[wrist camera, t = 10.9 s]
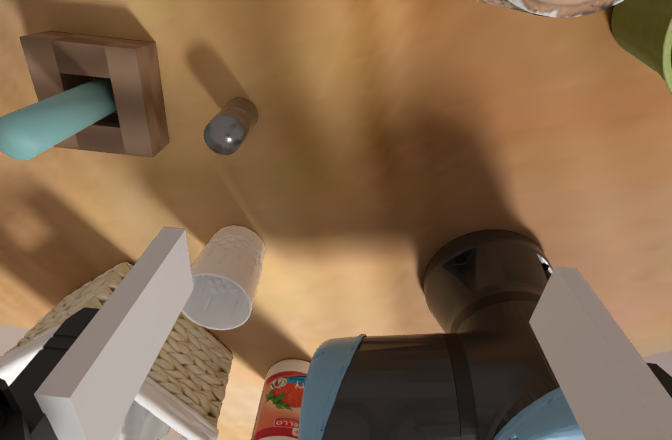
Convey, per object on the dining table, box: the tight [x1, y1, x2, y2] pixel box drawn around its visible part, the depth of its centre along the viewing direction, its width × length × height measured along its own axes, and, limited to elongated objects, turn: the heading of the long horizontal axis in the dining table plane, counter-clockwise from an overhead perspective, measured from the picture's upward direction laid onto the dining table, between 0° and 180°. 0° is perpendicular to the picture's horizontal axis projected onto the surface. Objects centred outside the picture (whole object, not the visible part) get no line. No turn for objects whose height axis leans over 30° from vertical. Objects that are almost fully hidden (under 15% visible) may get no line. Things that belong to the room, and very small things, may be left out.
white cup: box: [182, 225, 265, 330], centre depth 46 cm, size 8×8×10 cm
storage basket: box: [0, 262, 233, 440], centre depth 52 cm, size 24×16×15 cm
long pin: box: [0, 77, 117, 160], centre depth 35 cm, size 3×3×14 cm
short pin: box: [204, 98, 258, 155], centre depth 38 cm, size 3×3×7 cm
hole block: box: [19, 31, 169, 157], centre depth 39 cm, size 10×10×4 cm
